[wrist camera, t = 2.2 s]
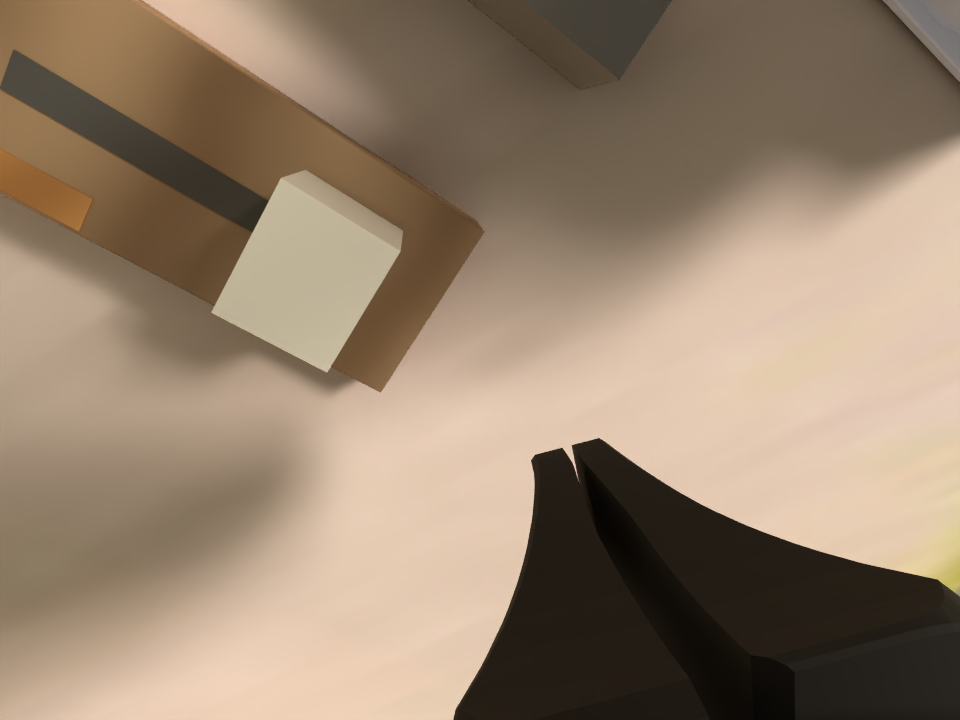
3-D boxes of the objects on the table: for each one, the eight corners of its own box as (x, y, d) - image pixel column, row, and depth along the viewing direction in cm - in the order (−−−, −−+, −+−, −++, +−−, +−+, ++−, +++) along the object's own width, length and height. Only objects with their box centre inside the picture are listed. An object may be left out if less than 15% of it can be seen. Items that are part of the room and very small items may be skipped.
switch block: (477, 221, 18) (484, 232, 16) (383, 368, 20) (380, 393, 18) (15, -84, 14) (-47, -117, 12) (-57, 131, 16) (-121, 131, 14)
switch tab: (403, 230, 16) (400, 251, 13) (341, 333, 17) (327, 372, 14) (305, 169, 15) (281, 178, 12) (246, 281, 16) (210, 312, 13)
